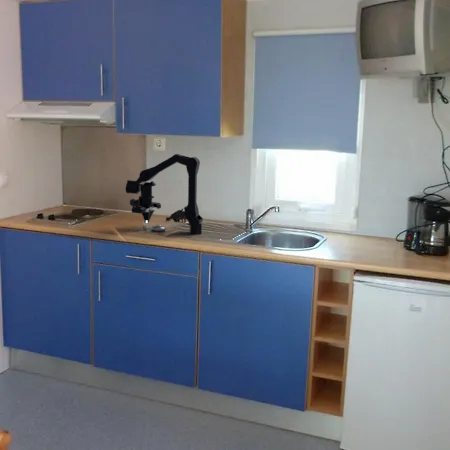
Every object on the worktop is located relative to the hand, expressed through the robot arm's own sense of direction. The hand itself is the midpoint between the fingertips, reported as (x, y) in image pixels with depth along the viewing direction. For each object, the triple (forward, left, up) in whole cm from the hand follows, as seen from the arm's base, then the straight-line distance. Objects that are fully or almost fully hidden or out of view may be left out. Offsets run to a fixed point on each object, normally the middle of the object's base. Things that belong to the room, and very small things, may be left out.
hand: (146, 223), depth 280 cm
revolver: (+12, -29, -5) cm, 32 cm away
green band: (-5, +1, -4) cm, 6 cm away
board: (-4, -3, -4) cm, 7 cm away
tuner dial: (-5, -2, -3) cm, 6 cm away
